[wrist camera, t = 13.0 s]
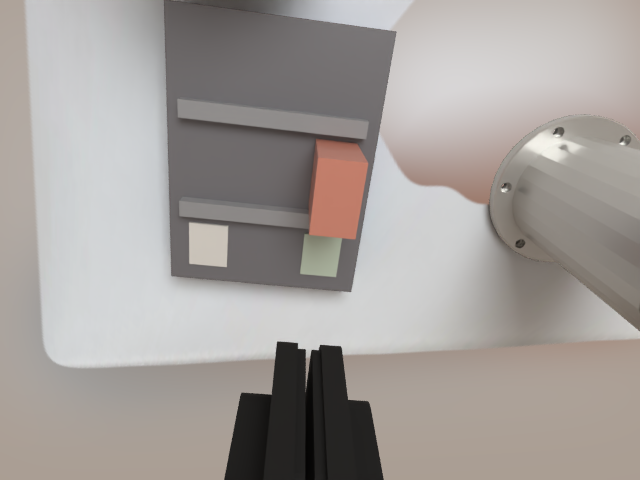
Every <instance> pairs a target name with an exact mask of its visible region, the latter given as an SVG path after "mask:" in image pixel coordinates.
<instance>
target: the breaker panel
mask: <svg viewBox="0 0 640 480" xmlns="http://www.w3.org/2000/svg"><path fill="white" fill-rule="evenodd" d="M164 16H165V53H166V90H167V127H168V164H169V201H170V238H171V275H172V276H177V277H188V278H199V279H210V280H222V281H233V282H244V283H256V284H267V285H278V286H289V287H301V288H312V289H323V290H334V291H346V292H351V289H352V284H353V278H354V272H355V267H356V261H357V255H358V249H359V244H360V238H361V232H362V226H363V221H364V215H365V209H366V203H367V198H368V192H369V186H370V181H371V175H372V169H373V163H374V158H375V152H376V146H377V140H378V135H379V129H380V123H381V118H382V111H383V106H384V100H385V94H386V88H387V83H388V77H389V72H390V66H391V60H392V54H393V48H394V43H395V37H396V31H388V30H381V29H374V28H367V27H359V26H352V25H345V24H338V23H330V22H323V21H316V20H309V19H302V18H294V17H287V16H280V15H273V14H265V13H258V12H251V11H244V10H236V9H229V8H222V7H215V6H207V5H200V4H193V3H186V2H179V1H171V0H164ZM316 139H324V140H333V141H341V142H350V143H357V144H358V146H359V148H360V149H361V151H362V153H363V155H364V156H365V158H366V160H367V162H368V168H367V174H366V180H365V186H364V192H363V198H362V204H361V209H360V215H359V221H358V227H357V233H356V239H345V238H335V237H325V236H315V235H309V196H310V187H311V178H312V170H313V161H314V152H315V144H316Z"/></svg>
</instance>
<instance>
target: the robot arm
mask: <svg viewBox="0 0 640 480" xmlns="http://www.w3.org/2000/svg"><path fill="white" fill-rule="evenodd" d="M554 130H555V132H554V133H553V131H554ZM503 184H504V186H503V187H501V186H502V185H503ZM489 201H490V202H489V203H490V215H491V219H492V222H493V226H494V228H495V229H496V231H497V233H498V235H499V236H500V237H501V239H502V240H503V241H504V242H505V243H506V244H507V245H508V246H509V247H510V248H511V249H512V250H514V251H515V252H517V253H518V254H520V255H522V256H524V257H526V258H529V259H533V260H536V261H543V262H557V263H558V264H560V265H561V266H562V267H563V268H564V269H566V270H567V271H568V272H569V273H570V274H572V275H573V276H574V277H575V278H576V279H578V280H579V281H580V282H581V283H582V284H584V285H585V286H586V287H587V288H588V289H590V290H591V291H592V292H593V293H594V294H596V295H597V296H598V297H599V298H600V299H602V300H603V301H604V302H605V303H606V304H608V305H609V306H610V307H611V308H612V309H614V310H615V311H616V312H617V313H618V314H620V315H621V316H622V317H623V318H624V319H626V320H627V321H628V322H629V323H630V324H632V325H633V326H634V327H635V328H636V329H638V330H639V331H640V141H639V140H638V139H637V137H636V135H635V134H634V133H633V132H631V131H630V130H629V129H628V128H627V127H626V126H624V125H623V124H620V123H619V122H617V121H614V120H612V119H609V118H605V117H600V116H594V115H586V114H584V115H571V116H566V117H563V118H559V119H555V120H553V121H550V122H548V123H546V124H544V125H542V126H540V127H538V128H537V129H535V130H534V131H532V132H531V133H529V134H528V135H526V136H525V137H524V138H523V139H522V140H521V141H520V142H519V143H517V144H516V145H515V146H514V147H513V148H512V150H511V151H510V152H509V154H508V155H507V156H506V157H505V159H504V160H503V162H502V164H501V166H500V167H499V169H498V171H497V173H496V175H495V178H494V181H493V184H492V187H491V193H490V200H489ZM305 361H306V350H305V349H298V343H290V342H277V348H276V358H275V368H274V378H273V388H272V395H268V394H253V393H241V396H240V401H239V406H238V411H237V416H236V421H235V427H234V432H233V438H232V442H231V447H230V453H229V458H228V463H227V469H226V473H225V479H224V480H384V479H383V473H382V468H381V463H380V457H379V451H378V446H377V440H376V435H375V429H374V424H373V418H372V413H371V408H370V404H369V402H368V401H355V400H348V397H347V388H346V380H345V372H344V364H343V355H342V348H341V346H328V345H320V347H319V350H312V351H311V357H310V364H309V372H308V379H307V387H306V386H305V383H306V381H305V380H306V376H305V375H306V374H305V373H306V371H305V370H306V368H305V366H306V362H305ZM305 389H306V393H305Z"/></svg>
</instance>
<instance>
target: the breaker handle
mask: <svg viewBox="0 0 640 480" xmlns="http://www.w3.org/2000/svg"><path fill="white" fill-rule="evenodd" d="M367 168H368V162H367V160H366V158H365V156H364V155H363V153H362V151H361V149H360V148H359V146H358V144H357V143H350V142H341V141H333V140H324V139H316V144H315V152H314V161H313V170H312V178H311V187H310V196H309V235H315V236H325V237H335V238H345V239H356V233H357V227H358V221H359V215H360V209H361V204H362V198H363V192H364V186H365V180H366V174H367Z"/></svg>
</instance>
